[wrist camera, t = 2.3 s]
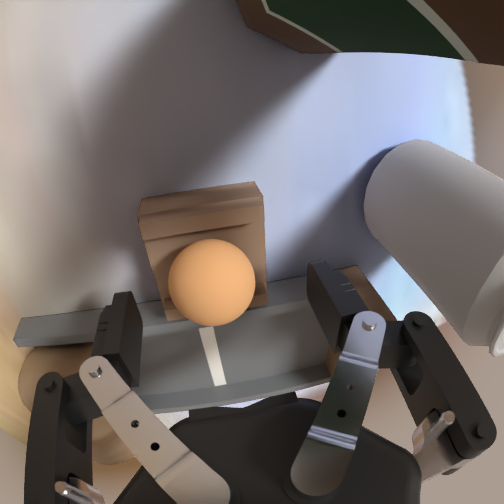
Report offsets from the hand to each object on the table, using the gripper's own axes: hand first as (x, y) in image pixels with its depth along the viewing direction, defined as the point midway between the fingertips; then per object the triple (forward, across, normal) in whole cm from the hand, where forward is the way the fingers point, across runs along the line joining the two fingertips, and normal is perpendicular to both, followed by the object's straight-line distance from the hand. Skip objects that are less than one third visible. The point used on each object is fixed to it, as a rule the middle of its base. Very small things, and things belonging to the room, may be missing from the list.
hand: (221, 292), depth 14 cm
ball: (+1, 0, 0) cm, 1 cm away
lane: (+5, +4, +9) cm, 11 cm away
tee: (+5, 0, 0) cm, 5 cm away
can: (+5, -13, -2) cm, 14 cm away
